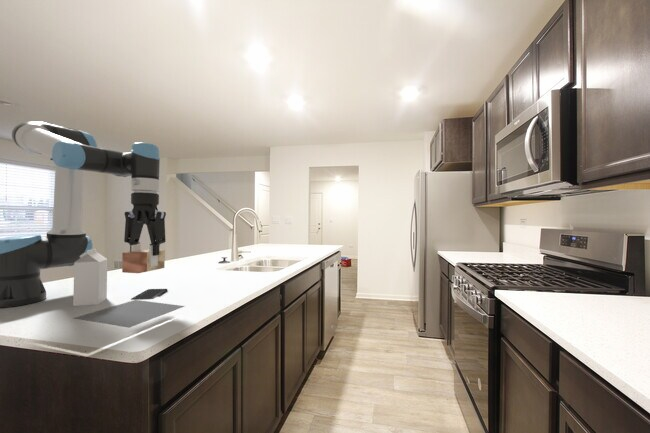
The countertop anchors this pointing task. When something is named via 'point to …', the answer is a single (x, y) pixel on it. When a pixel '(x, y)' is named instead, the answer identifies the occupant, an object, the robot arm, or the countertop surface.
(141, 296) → the phone
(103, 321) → the mat
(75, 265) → the milk carton
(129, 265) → the terracotta wooden block
